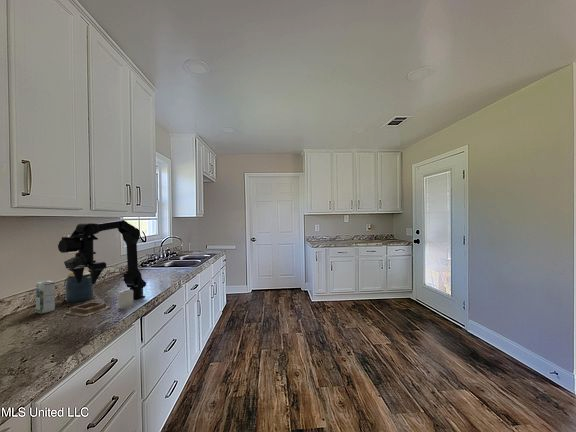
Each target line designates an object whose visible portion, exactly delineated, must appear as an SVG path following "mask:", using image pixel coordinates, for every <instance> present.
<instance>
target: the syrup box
mask: <svg viewBox="0 0 576 432" xmlns="http://www.w3.org/2000/svg"><path fill="white" fill-rule="evenodd" d="M53 311H56V281H53V280H42V281H37V282H36V283H35V313H38V314H46V313H49V312H53Z"/></svg>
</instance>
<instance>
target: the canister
mask: <svg viewBox="0 0 576 432" xmlns="http://www.w3.org/2000/svg"><path fill="white" fill-rule="evenodd" d="M88 270H89V269H88ZM88 270H85V269H84V271H83V276H82V280H81V283H77V280H76V278H75V276H74V274H73V272H72V271H70V272H69V273H68V274H67V275H66V276H67V278H65V279H64V281H65V282H66V283H65V285H64V288H65V298H64V299H65V302H66V303H67V302H68V303H77V302H83V301H87V300H88V301H89V300H90V299H92V298H94V295H95V292H94V287H95V286H94V285H95V284H92V281H91V273H90V272H89V271H88Z"/></svg>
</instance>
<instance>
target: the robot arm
mask: <svg viewBox="0 0 576 432" xmlns="http://www.w3.org/2000/svg"><path fill="white" fill-rule="evenodd" d="M113 229H115V230H116V229H117V230H118V233H120V234H121V236H122V239H123V241H124V242H125V244H126V259H127V261H126V262H127V271H126V272H125V273H123V281H122V282H124V284H125V285H126V288H129V290H133V301H134V300H140V299H142V297H143V298H145V297H146V295H144V288H145V287H146V286H147V282H146V281H145V280H144V279H143V276H142V273H141V272H140V270H139V265H138V262H139V261H138V247H137V246H138V242H139V240H140V234H141V231H140V229H138V228H137V227H135V226H134V225H132V224H130V223H129V222H127V221H126V220H124V219H116V220H113V221H106V222H100V223H93V222H92V223H90V222H89V223H87V222H86V223H78V224H77V225H76V227H75V230H73V232H72V233H71V235H70V236H62V237H61V240H60V241H59V242H58V245H57V249H58V251H59V252H60V253H62V254H65V253H66V254H67V253H72V252H76V253H75V255H74V257H71V258H69V259H67V260H65V261H63V263H64V264H63V265H65V266H64V267H65V269H67V270H68V271H70V272H73V274H74V276H75V278H76V280H77V283H81V280H82V276H83V271H84V270H85V268H88V271H89V272H90V273H91V281H92V284H94V285H96V283H97V281H98V279H99V277H100V275H101V274H102V273H103V270H105V269H106V268H107V263H106V262H104V261H97V260H94V255H96V254H97V252H96V251H94V241H98V240H99V239H98V237H97V236H95V235H97V234H99V233H100V232H103V231H104V232H105V231H108V230H109V231H110V230H113Z"/></svg>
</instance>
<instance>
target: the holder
mask: <svg viewBox="0 0 576 432" xmlns="http://www.w3.org/2000/svg"><path fill="white" fill-rule="evenodd" d="M108 308H109V309H111V308H112V306H109V305H107V302H99V301H98V302H97V301H90V302H85V303H83V304H78V305H75V306H72V307H70V310H69V311H66V312H65V313H64V314H65V315H69V316H70V315H71V316H78V317H84V318H85V316H86V317H88V315H89V316H92V315H93V314H96V313H99V312H100V313H101V312H103V311H106V310H108ZM91 314H92V315H91Z"/></svg>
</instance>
